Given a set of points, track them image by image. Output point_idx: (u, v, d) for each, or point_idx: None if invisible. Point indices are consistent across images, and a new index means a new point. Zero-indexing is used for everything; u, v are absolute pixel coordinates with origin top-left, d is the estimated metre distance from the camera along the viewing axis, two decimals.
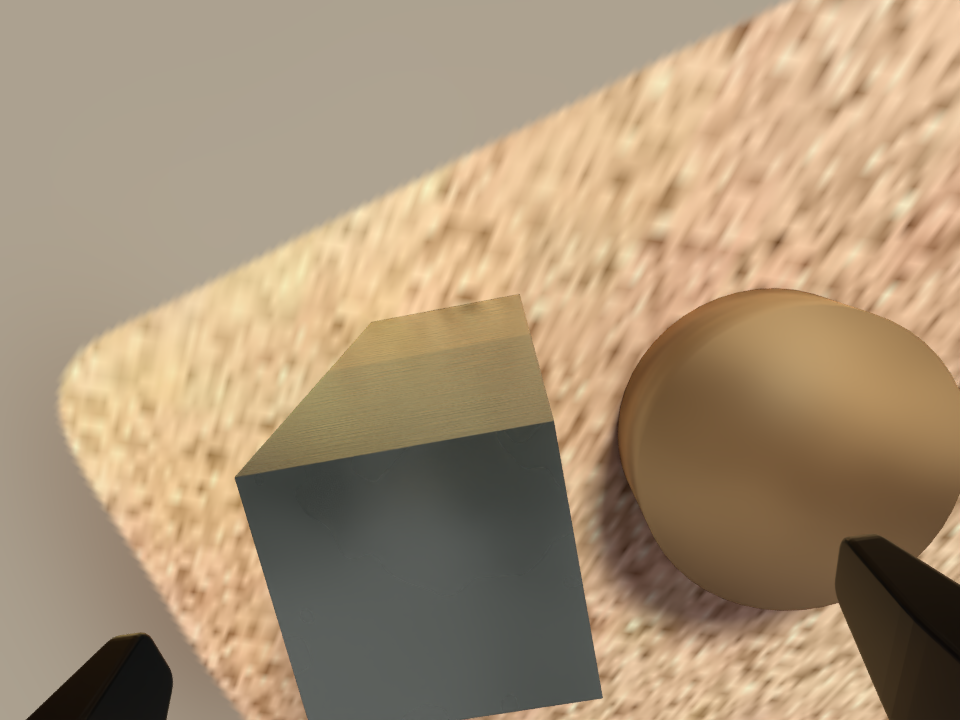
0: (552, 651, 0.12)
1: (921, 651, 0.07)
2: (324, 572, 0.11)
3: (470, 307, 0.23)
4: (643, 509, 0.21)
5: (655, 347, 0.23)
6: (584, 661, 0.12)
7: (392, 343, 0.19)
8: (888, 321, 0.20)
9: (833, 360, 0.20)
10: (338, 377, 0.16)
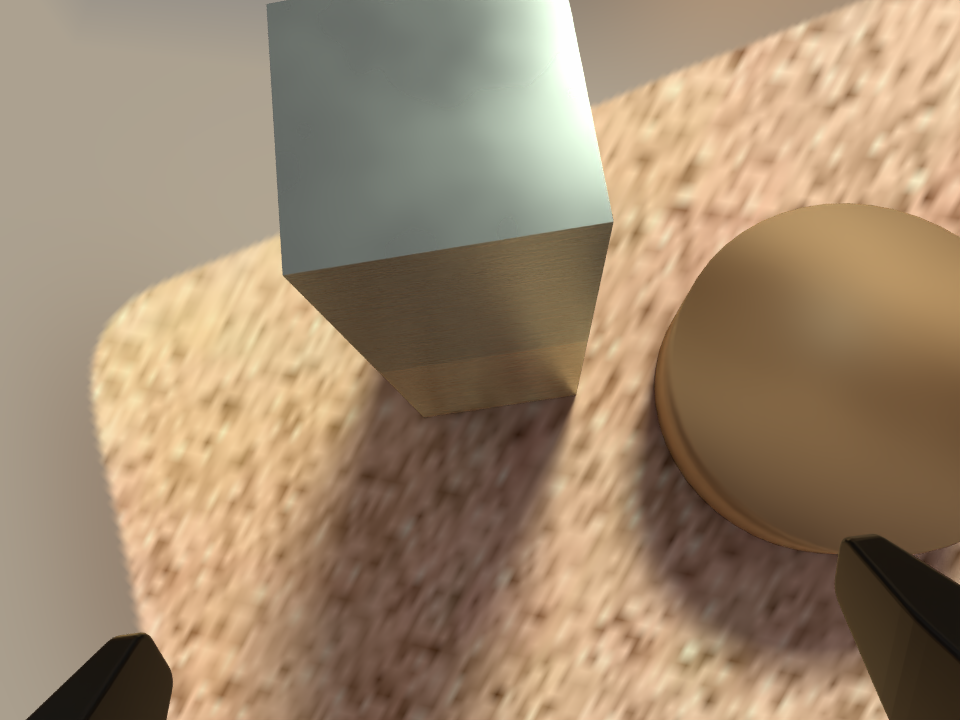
0: (556, 166, 0.11)
1: (921, 651, 0.07)
2: (330, 86, 0.12)
3: None
4: (683, 414, 0.19)
5: None
6: (591, 178, 0.11)
7: None
8: (917, 217, 0.20)
9: (868, 254, 0.20)
10: None
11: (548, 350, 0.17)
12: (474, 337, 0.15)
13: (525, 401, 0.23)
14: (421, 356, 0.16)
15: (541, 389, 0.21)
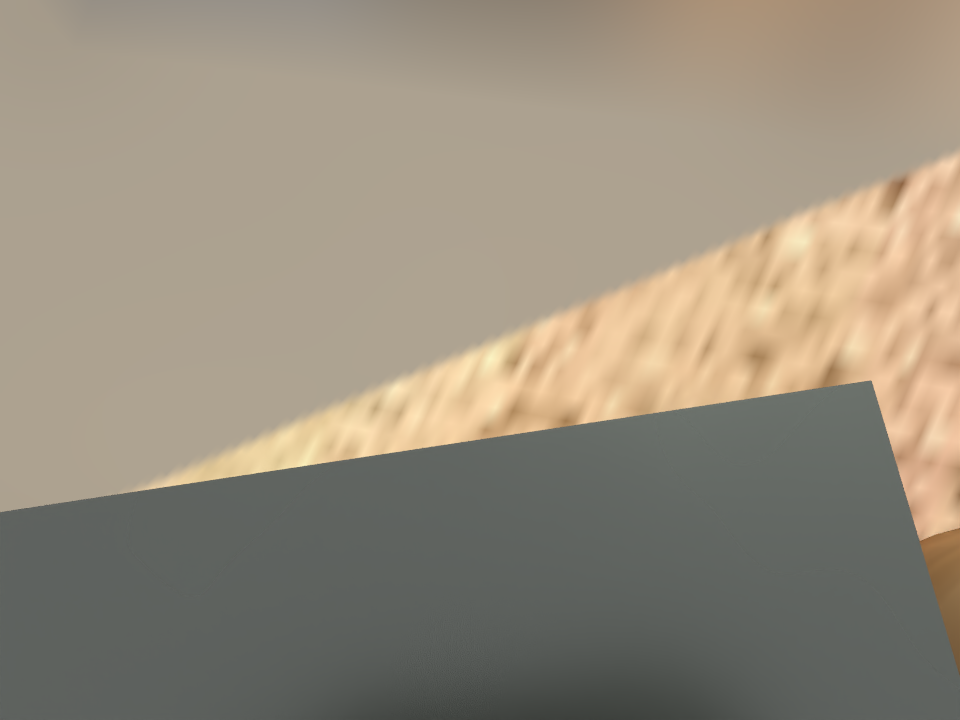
0: None
1: None
2: None
3: None
4: None
5: None
6: None
7: None
8: None
9: None
10: None
11: None
12: None
13: None
14: None
15: None
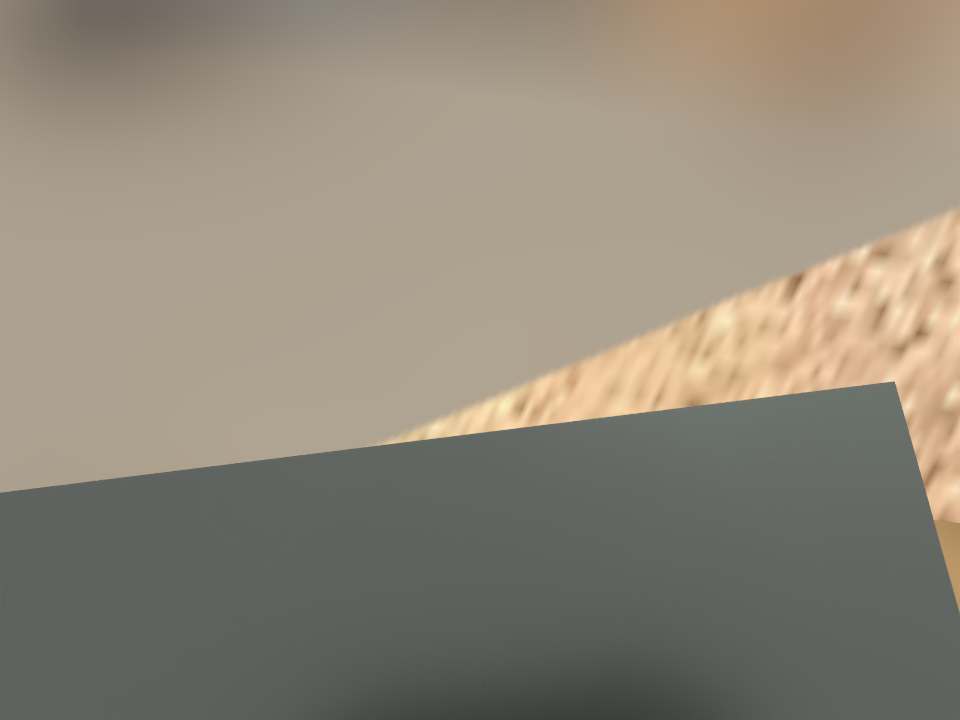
0: None
1: None
2: None
3: None
4: None
5: None
6: None
7: None
8: None
9: None
10: None
11: None
12: None
13: None
14: None
15: None
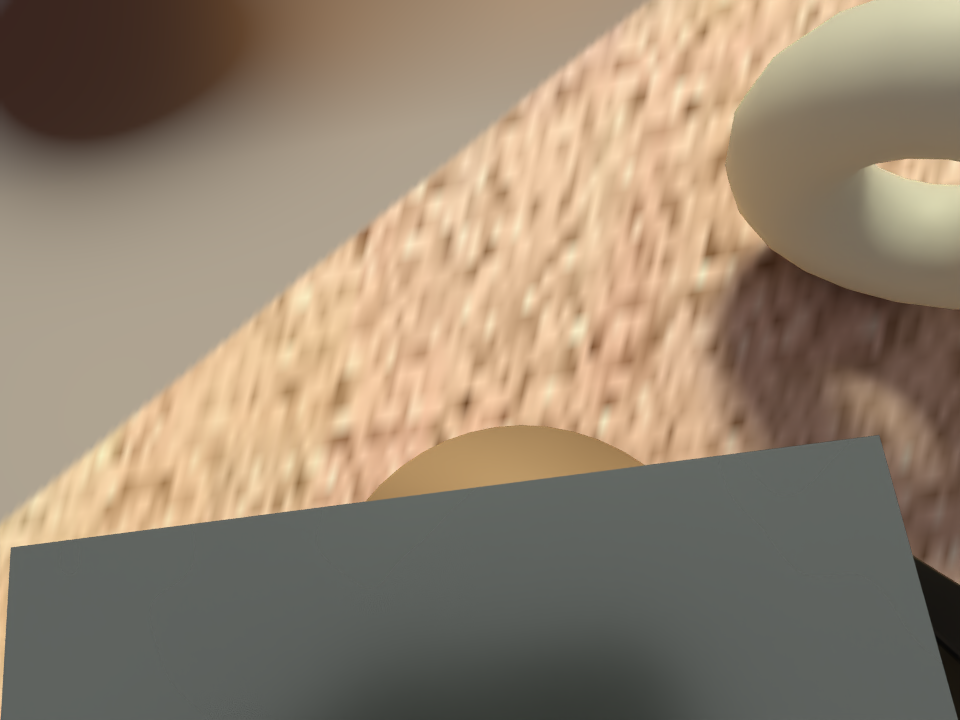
0: None
1: None
2: None
3: None
4: None
5: None
6: None
7: None
8: (545, 428, 0.17)
9: None
10: None
11: None
12: None
13: None
14: None
15: None
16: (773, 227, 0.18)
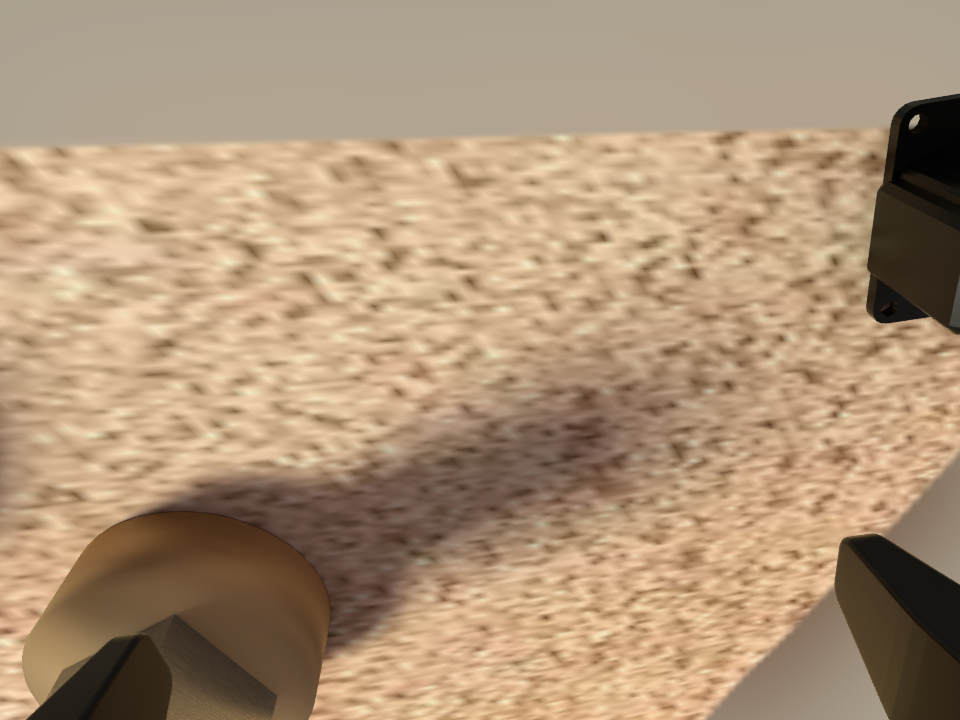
0: None
1: (921, 651, 0.07)
2: None
3: None
4: None
5: None
6: None
7: None
8: None
9: None
10: None
11: None
12: None
13: (208, 648, 0.23)
14: None
15: (182, 678, 0.21)
16: None
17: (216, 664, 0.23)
